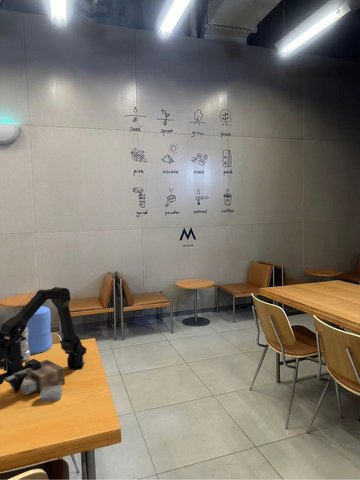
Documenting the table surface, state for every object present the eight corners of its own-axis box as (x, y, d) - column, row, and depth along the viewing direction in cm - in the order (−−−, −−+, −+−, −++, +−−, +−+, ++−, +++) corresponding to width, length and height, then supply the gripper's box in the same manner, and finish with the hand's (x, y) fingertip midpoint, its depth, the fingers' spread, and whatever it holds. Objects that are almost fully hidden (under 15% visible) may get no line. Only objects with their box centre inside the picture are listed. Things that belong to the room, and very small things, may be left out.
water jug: (41, 355, 170) (38, 301, 168) (14, 353, 173) (10, 301, 171) (58, 343, 185) (55, 294, 183) (33, 342, 188) (30, 293, 186)
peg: (38, 384, 138) (37, 375, 137) (43, 387, 135) (42, 377, 135) (21, 391, 132) (20, 382, 132) (26, 394, 130) (25, 385, 130)
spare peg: (62, 394, 131) (61, 385, 131) (60, 400, 127) (59, 390, 127) (43, 396, 130) (43, 387, 130) (41, 402, 126) (40, 392, 126)
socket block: (47, 374, 148) (46, 359, 148) (64, 383, 140) (64, 367, 139) (25, 383, 141) (24, 368, 140) (42, 394, 132) (41, 377, 131)
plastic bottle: (33, 357, 168) (31, 318, 167) (26, 362, 161) (23, 322, 160) (21, 356, 169) (19, 318, 167) (13, 362, 162) (11, 322, 161)
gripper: (27, 342, 140) (29, 377, 141) (-22, 357, 125) (-19, 397, 127) (40, 348, 133) (43, 385, 134) (-9, 365, 118) (-6, 407, 120)
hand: (16, 393), depth 129 cm, fingers closed
